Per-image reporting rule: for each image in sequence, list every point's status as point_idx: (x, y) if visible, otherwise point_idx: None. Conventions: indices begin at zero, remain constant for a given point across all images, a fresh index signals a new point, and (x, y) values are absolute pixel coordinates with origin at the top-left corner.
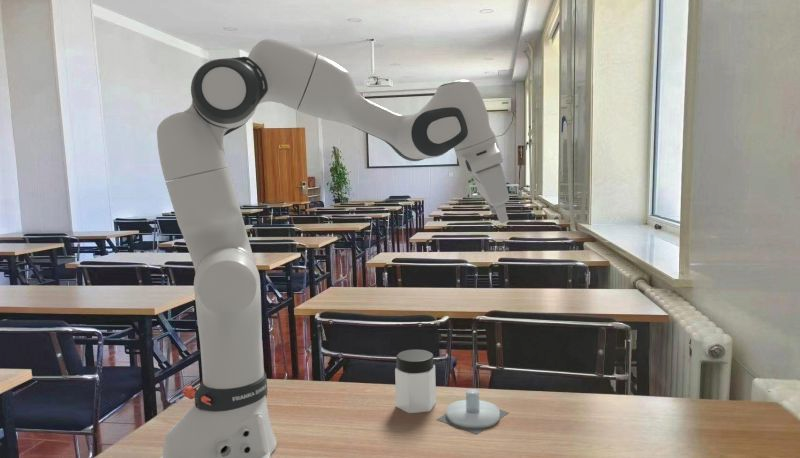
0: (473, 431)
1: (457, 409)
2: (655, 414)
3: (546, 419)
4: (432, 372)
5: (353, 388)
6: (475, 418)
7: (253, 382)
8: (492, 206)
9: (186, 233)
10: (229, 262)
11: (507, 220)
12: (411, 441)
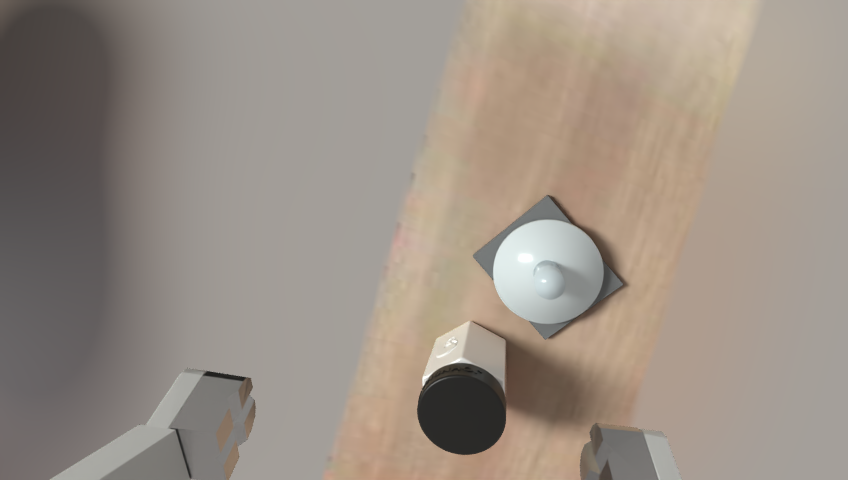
0: (611, 287)
1: (535, 301)
2: None
3: (579, 123)
4: (482, 363)
5: (361, 449)
6: (583, 278)
7: None
8: (199, 464)
9: None
10: None
11: (659, 435)
12: (602, 391)
